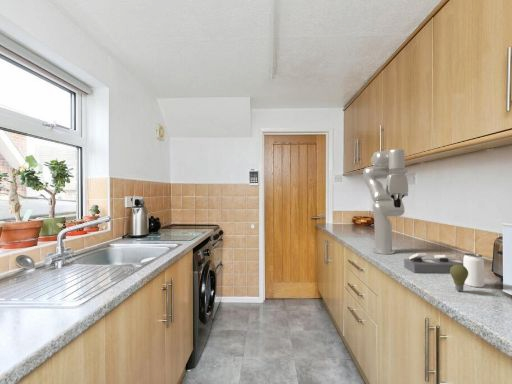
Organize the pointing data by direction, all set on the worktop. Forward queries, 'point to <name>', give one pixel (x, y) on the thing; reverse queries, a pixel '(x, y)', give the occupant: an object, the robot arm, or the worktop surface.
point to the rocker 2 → (443, 256)
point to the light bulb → (459, 276)
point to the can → (474, 270)
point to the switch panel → (430, 265)
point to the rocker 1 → (418, 255)
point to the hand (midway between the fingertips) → (397, 207)
